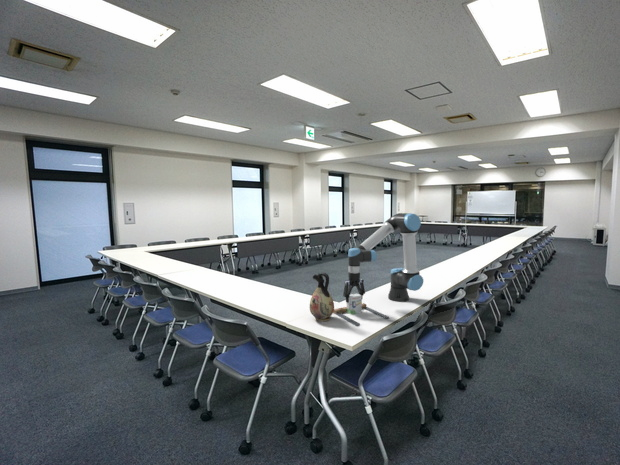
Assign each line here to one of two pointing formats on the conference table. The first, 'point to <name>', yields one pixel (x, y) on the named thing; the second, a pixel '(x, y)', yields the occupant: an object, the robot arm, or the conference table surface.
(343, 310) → the end stop
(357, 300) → the ink box
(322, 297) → the ceramic jug
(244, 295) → the conference table surface
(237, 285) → the conference table surface
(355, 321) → the guide rails
